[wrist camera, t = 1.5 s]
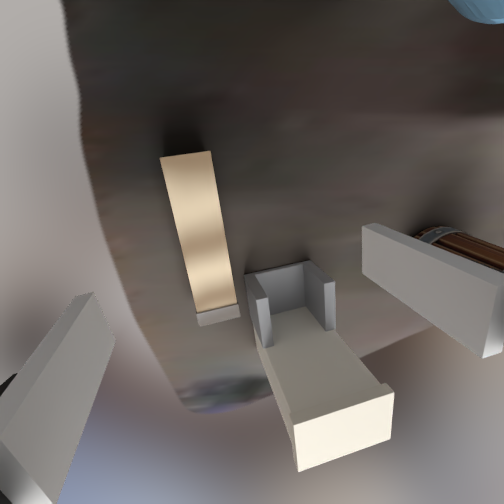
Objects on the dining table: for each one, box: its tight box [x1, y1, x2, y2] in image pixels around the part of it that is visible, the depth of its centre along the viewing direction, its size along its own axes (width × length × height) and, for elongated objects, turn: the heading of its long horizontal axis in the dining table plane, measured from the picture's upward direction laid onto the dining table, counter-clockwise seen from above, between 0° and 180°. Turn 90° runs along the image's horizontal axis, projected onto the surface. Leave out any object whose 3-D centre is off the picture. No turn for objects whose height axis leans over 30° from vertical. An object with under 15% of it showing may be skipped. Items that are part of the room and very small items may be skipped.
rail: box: [160, 151, 240, 327], centre depth 27 cm, size 16×4×5 cm, turn 8°
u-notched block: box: [244, 260, 394, 472], centre depth 28 cm, size 11×9×15 cm
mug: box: [414, 226, 504, 346], centre depth 32 cm, size 16×11×15 cm
